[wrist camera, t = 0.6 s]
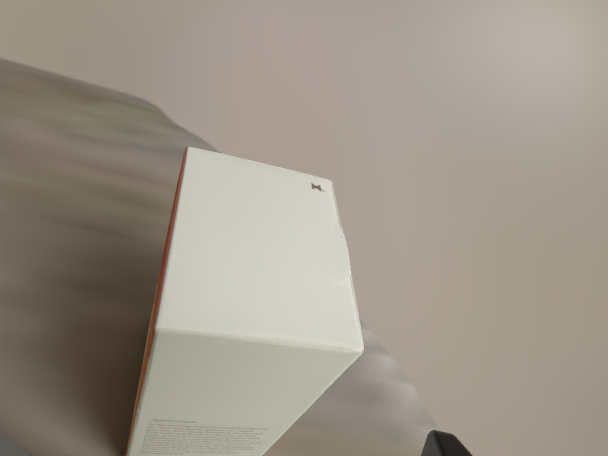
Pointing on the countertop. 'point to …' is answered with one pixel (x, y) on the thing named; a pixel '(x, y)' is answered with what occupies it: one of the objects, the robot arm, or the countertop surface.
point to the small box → (243, 310)
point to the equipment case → (10, 448)
